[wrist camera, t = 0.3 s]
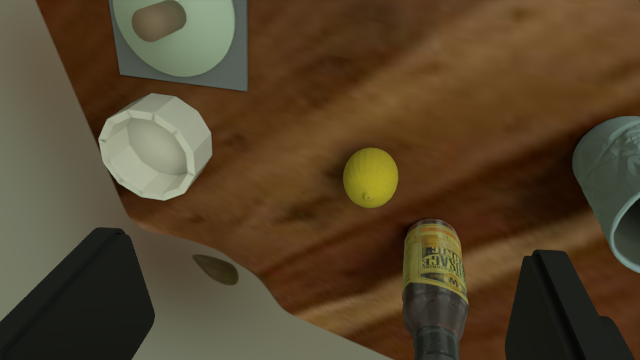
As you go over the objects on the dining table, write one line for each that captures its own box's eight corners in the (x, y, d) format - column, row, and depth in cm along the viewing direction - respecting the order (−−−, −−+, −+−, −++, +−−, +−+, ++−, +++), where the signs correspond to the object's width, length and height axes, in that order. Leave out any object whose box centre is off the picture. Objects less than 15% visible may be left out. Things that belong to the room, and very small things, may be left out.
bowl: (118, 88, 49) (91, 104, 44) (209, 100, 48) (190, 118, 44) (131, 170, 54) (108, 191, 50) (213, 182, 53) (197, 205, 49)
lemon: (346, 178, 50) (338, 219, 43) (348, 133, 47) (339, 169, 40) (395, 183, 49) (395, 224, 42) (400, 137, 47) (401, 174, 40)
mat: (99, -76, 41) (96, -76, 40) (247, -62, 39) (245, -62, 39) (122, 73, 48) (120, 74, 47) (247, 90, 46) (246, 91, 46)
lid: (108, -63, 41) (67, -60, 36) (235, -50, 40) (210, -46, 34) (127, 66, 47) (94, 84, 42) (237, 80, 46) (216, 100, 41)
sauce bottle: (469, 231, 51) (504, 385, 34) (436, 265, 54) (453, 421, 37) (421, 204, 50) (433, 348, 33) (391, 240, 53) (387, 388, 36)
